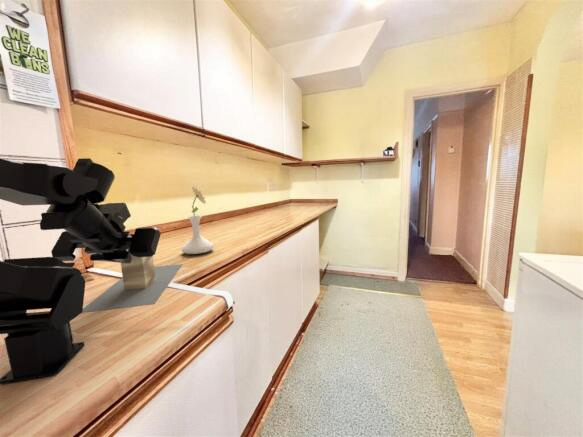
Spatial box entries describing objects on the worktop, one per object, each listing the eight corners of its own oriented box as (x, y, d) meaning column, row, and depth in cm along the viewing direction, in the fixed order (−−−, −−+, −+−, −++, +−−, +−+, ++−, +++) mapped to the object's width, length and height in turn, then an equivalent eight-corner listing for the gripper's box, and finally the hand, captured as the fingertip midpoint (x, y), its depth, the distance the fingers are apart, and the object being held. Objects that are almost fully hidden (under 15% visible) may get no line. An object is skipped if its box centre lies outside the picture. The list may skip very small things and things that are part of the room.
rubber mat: (154, 306, 50) (154, 303, 50) (77, 315, 47) (77, 313, 47) (183, 265, 75) (183, 264, 75) (134, 270, 72) (133, 268, 72)
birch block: (146, 288, 58) (139, 240, 56) (124, 289, 58) (117, 241, 56) (155, 279, 63) (150, 235, 61) (135, 281, 63) (129, 236, 61)
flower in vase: (212, 255, 86) (206, 185, 83) (178, 258, 84) (171, 186, 80) (215, 246, 99) (210, 185, 95) (185, 248, 96) (179, 186, 93)
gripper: (151, 189, 49) (177, 230, 62) (53, 192, 47) (100, 234, 60) (134, 234, 42) (167, 271, 55) (20, 240, 41) (81, 276, 53)
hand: (129, 261), depth 56 cm, fingers closed
